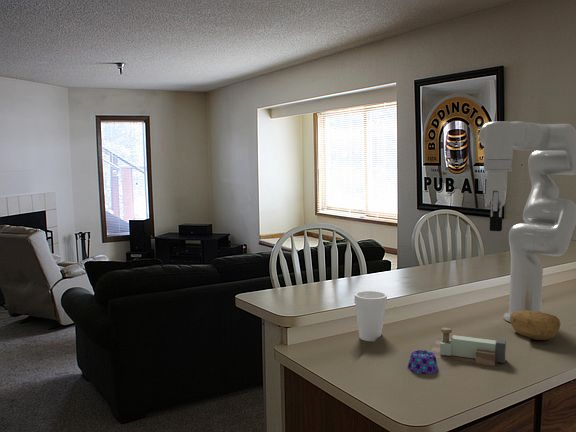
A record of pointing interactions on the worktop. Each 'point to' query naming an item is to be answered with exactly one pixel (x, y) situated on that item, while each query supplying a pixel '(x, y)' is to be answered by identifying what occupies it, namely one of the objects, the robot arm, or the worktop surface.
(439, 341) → the stool seat
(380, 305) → the foam cup
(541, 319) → the potato
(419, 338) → the worktop surface
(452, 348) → the leg
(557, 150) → the robot arm
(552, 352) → the worktop surface
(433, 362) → the purple spotted dome
